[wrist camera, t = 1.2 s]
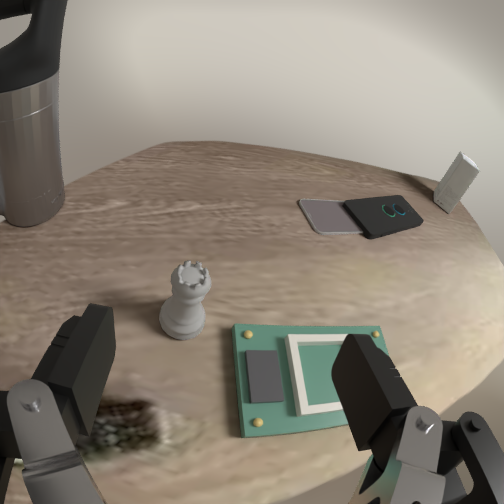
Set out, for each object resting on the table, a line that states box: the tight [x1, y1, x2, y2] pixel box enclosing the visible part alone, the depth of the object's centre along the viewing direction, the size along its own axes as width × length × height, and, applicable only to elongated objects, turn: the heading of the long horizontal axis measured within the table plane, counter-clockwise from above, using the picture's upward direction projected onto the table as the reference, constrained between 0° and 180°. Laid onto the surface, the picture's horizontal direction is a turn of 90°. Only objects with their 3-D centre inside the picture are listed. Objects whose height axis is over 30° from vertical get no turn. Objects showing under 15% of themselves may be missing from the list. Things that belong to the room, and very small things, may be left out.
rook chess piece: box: [159, 260, 211, 340], centre depth 26 cm, size 4×4×8 cm
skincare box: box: [434, 152, 479, 214], centre depth 65 cm, size 8×6×15 cm
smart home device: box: [342, 195, 423, 239], centre depth 54 cm, size 8×2×20 cm
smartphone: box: [299, 199, 363, 235], centre depth 49 cm, size 7×1×15 cm
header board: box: [232, 324, 389, 438], centre depth 28 cm, size 18×11×2 cm, turn 95°
